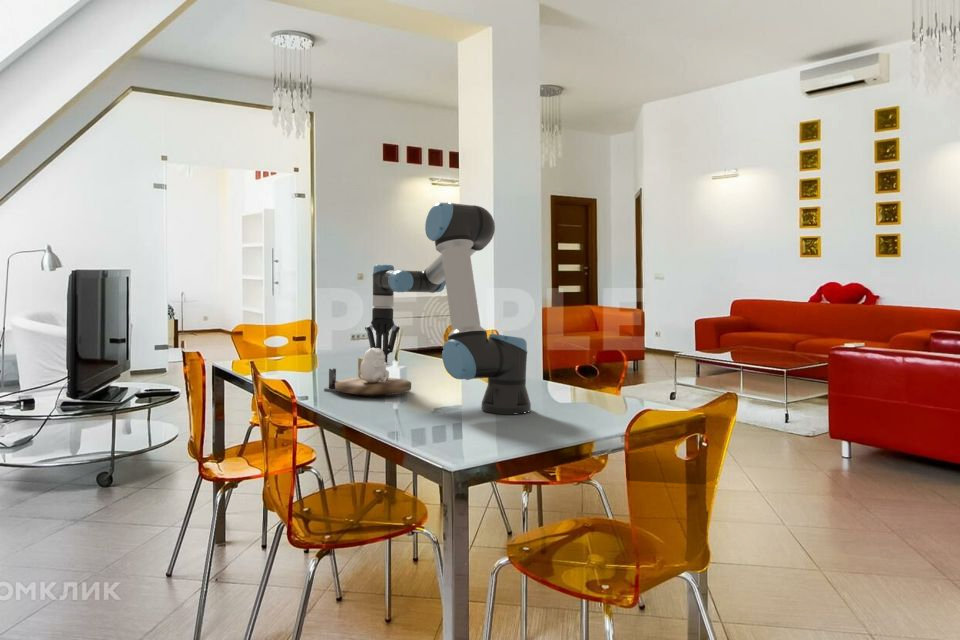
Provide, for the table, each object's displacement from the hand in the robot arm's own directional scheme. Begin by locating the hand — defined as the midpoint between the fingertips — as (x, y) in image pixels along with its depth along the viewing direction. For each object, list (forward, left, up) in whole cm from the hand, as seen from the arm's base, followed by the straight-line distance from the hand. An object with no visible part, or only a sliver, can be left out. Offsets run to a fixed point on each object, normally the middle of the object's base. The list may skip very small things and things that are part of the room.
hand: (381, 372), depth 249 cm
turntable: (0, +12, -4) cm, 13 cm away
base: (+5, +13, -5) cm, 14 cm away
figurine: (0, +13, -2) cm, 13 cm away
